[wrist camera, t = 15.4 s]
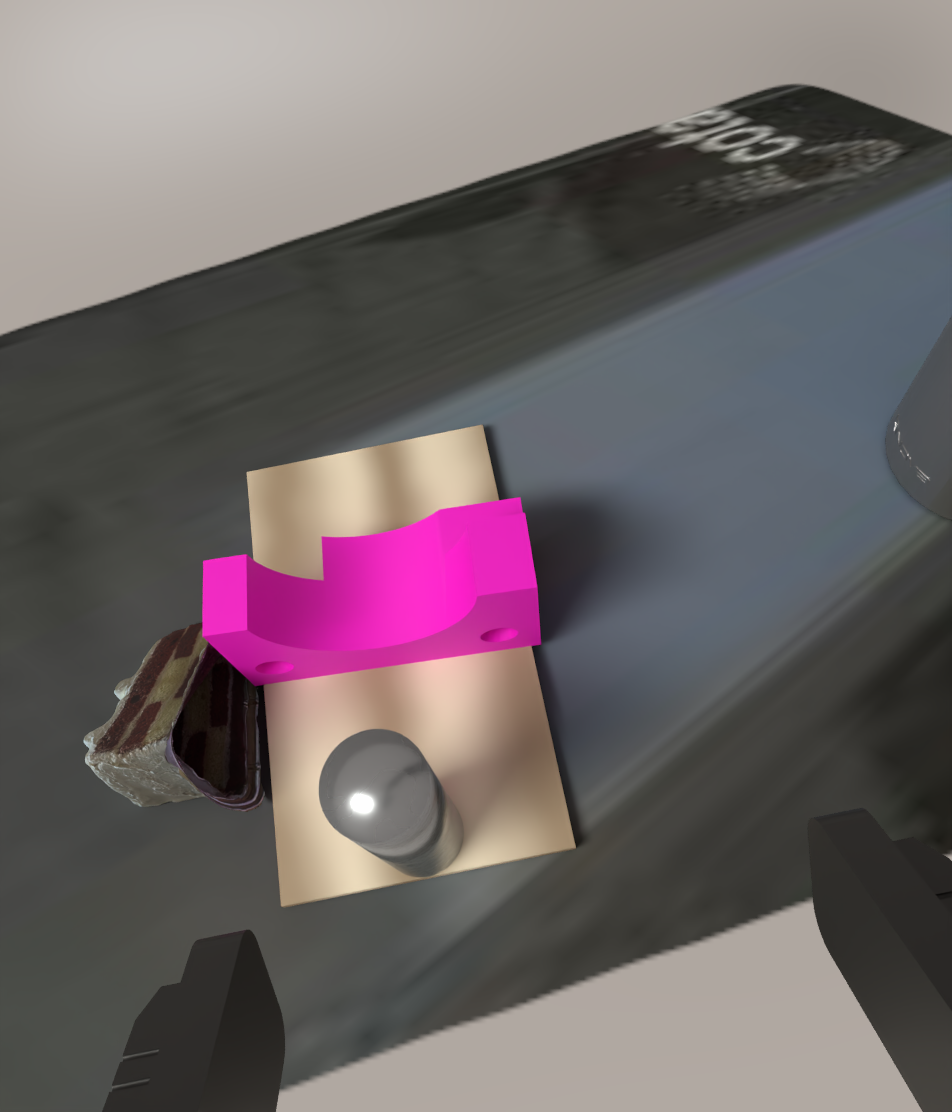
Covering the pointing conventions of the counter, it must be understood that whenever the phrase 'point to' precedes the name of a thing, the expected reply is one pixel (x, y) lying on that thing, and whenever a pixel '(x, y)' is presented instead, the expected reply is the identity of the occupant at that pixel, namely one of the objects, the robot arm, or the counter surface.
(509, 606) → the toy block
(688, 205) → the counter surface
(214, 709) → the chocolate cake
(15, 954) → the counter surface
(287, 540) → the beige piece
